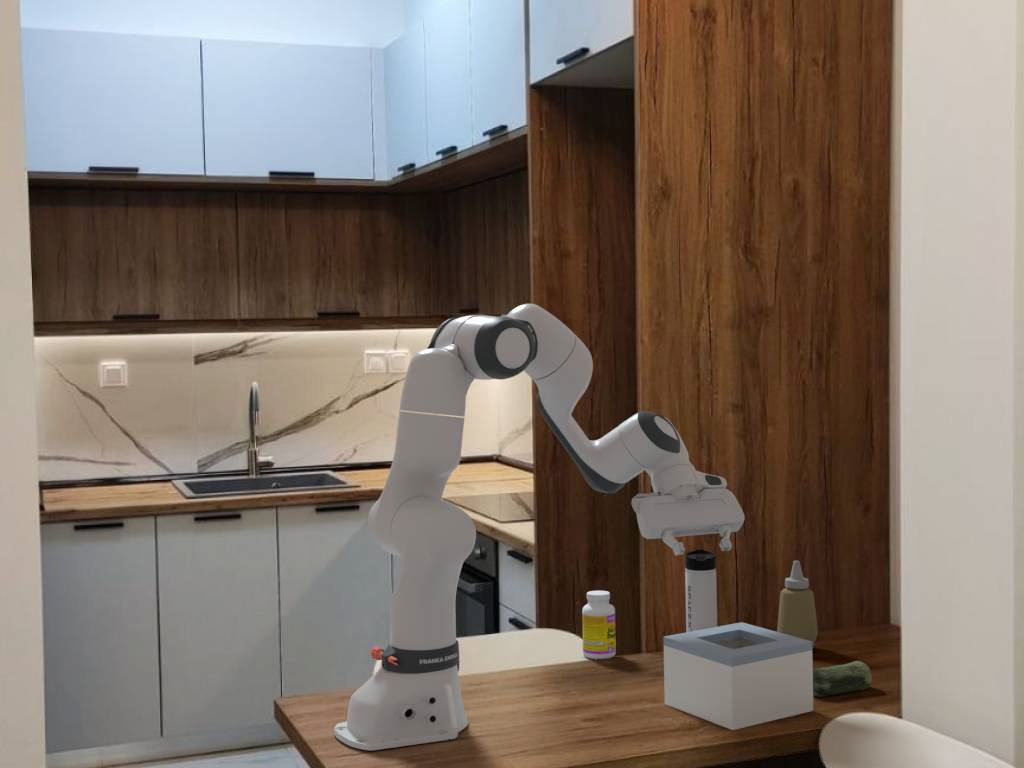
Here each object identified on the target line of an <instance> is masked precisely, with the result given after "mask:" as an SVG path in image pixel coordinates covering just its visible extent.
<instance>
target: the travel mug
mask: <svg viewBox="0 0 1024 768" xmlns="http://www.w3.org/2000/svg"><path fill="white" fill-rule="evenodd" d="M684 559H685V560H684V561H685V566H684V567H685V568H684V570H685V571H684V572H685V573H684V574H685V575H684V578H685V583H684V585H685V621H686V622H685V625H686V627H685V628H686V629H685V630H686V632H691V631H697V630H702V629H707V628H713V627H718V599H717V596H718V595H717V593H718V591H717V565H716V563H717V561H716V553H715V552H713V551H710V550H704V548H695V550H691V551H687V552H686V553H685V554H684ZM686 632H685V633H686Z"/></svg>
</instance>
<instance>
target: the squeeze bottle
mask: <svg viewBox="0 0 1024 768" xmlns="http://www.w3.org/2000/svg"><path fill="white" fill-rule="evenodd" d="M809 586H810V585H809V579H808V578H806V577H804V575H803V571H802V566H801V563H800V560H793V563H792V567H791V571H790V577H785V579H784V587H785V588H783V589H782V590H781V591H780V596H779V607H778V618H777V619H778V620H777V629H776V630H777V631H776V632H779V633H783V634H787V635H790V636H794V637H798V638H801V639H805V640H809V641H812V650H813V649H814V647H815V646H814V645H815V643H816V640H817V636H818V633H819V628H818V621H817V612H816V604H815V595H814V592H813V591H812V590H811V589H810V588H809Z"/></svg>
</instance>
